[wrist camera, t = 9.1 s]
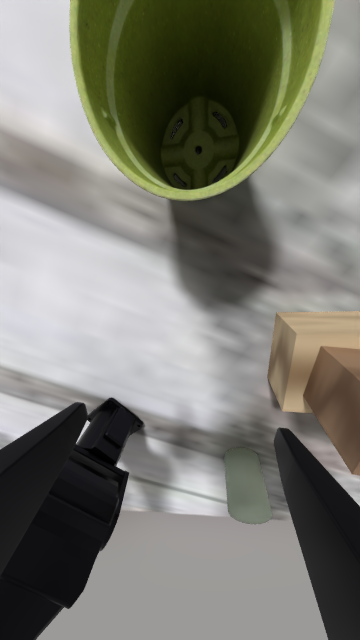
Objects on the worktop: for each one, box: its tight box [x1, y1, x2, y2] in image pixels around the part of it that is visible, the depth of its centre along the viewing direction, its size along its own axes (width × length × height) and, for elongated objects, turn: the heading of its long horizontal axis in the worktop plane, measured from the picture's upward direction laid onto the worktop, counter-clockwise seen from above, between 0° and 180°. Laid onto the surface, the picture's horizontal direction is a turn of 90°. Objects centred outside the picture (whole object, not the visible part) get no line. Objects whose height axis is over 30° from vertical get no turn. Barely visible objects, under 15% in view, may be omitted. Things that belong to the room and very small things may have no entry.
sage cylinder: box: [224, 448, 272, 524], centre depth 25 cm, size 5×5×6 cm
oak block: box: [268, 311, 360, 413], centre depth 17 cm, size 8×8×5 cm
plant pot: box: [69, 0, 335, 201], centre depth 11 cm, size 9×9×9 cm
